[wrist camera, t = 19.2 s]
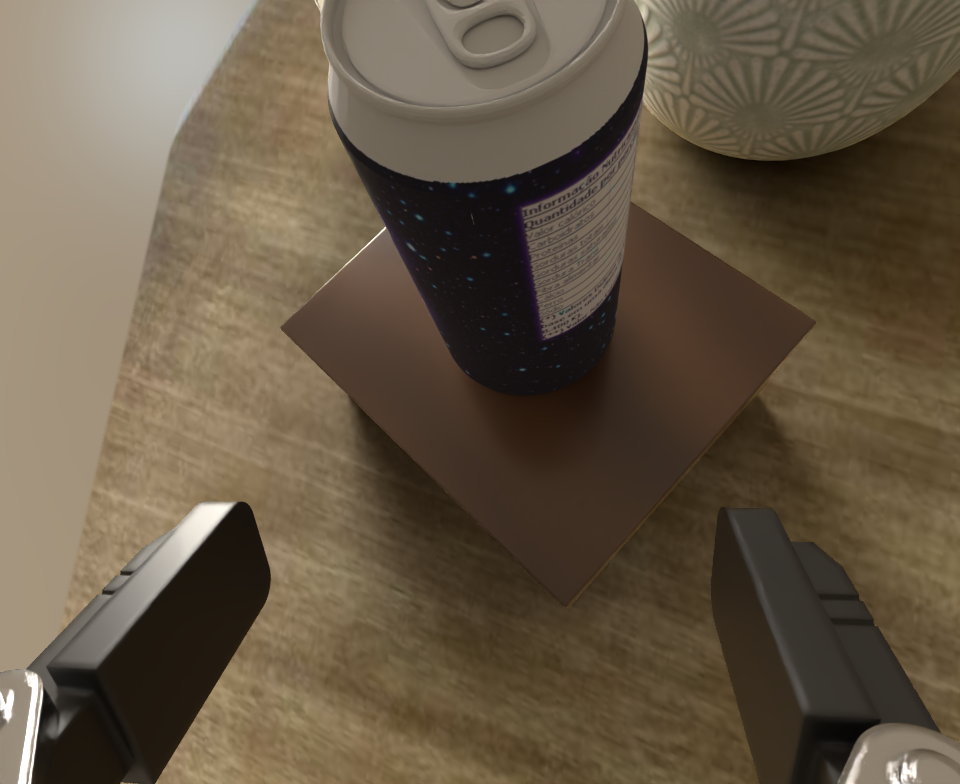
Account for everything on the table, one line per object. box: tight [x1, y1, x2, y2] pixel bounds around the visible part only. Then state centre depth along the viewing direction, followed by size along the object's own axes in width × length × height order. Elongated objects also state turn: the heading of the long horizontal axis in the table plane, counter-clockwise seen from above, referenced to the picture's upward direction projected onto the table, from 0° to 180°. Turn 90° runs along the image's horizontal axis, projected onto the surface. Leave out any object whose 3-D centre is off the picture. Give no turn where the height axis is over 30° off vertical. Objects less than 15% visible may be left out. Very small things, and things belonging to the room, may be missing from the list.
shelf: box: [280, 202, 816, 608], centre depth 24 cm, size 12×14×7 cm
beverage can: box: [321, 0, 648, 396], centre depth 15 cm, size 6×6×12 cm
